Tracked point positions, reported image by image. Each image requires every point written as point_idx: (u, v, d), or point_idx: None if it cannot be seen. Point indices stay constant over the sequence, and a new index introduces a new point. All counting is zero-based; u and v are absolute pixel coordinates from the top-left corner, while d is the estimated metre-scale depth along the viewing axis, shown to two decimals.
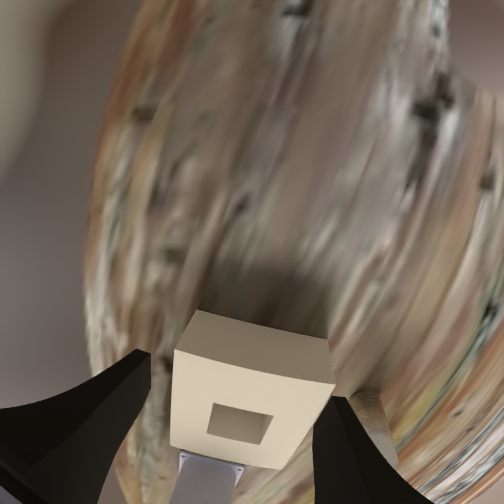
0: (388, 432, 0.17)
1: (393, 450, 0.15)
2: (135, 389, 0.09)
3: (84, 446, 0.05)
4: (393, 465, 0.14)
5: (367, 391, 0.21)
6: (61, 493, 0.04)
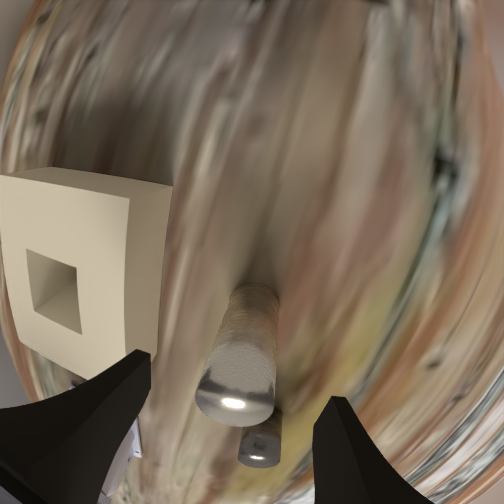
0: (264, 339, 0.12)
1: (261, 367, 0.10)
2: (135, 389, 0.09)
3: (84, 446, 0.05)
4: (261, 400, 0.09)
5: (252, 286, 0.16)
6: (61, 493, 0.04)
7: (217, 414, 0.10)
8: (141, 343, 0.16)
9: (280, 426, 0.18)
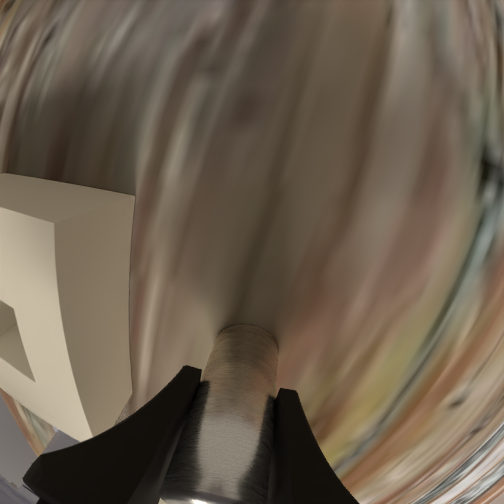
0: (254, 420, 0.08)
1: (248, 470, 0.06)
2: (189, 407, 0.09)
3: (152, 476, 0.05)
4: None
5: (241, 329, 0.12)
6: None
7: None
8: (107, 392, 0.11)
9: None
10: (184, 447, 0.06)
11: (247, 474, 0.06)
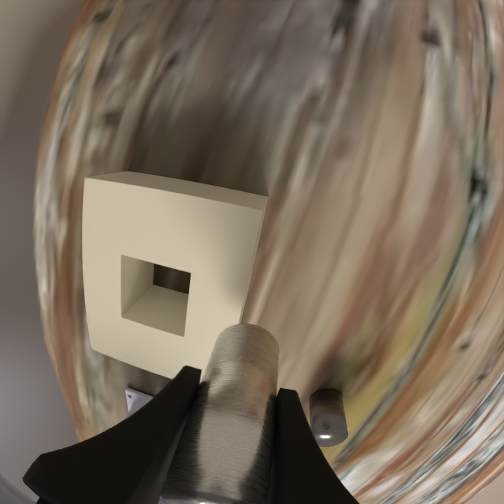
0: (255, 420, 0.08)
1: (249, 470, 0.06)
2: (189, 407, 0.09)
3: (152, 476, 0.05)
4: None
5: (242, 328, 0.12)
6: None
7: None
8: None
9: (343, 407, 0.21)
10: (185, 447, 0.06)
11: (248, 474, 0.06)
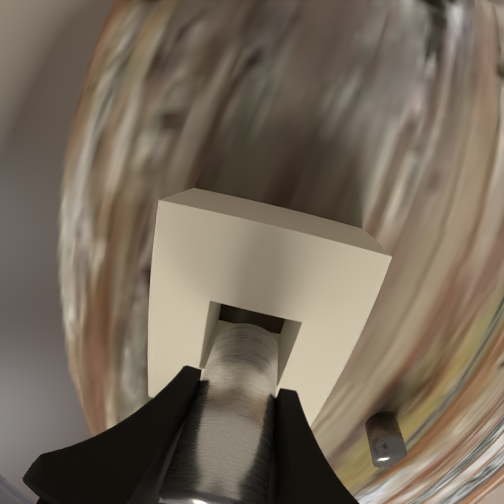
0: (255, 420, 0.07)
1: (248, 469, 0.06)
2: (189, 407, 0.09)
3: (152, 476, 0.05)
4: None
5: (242, 328, 0.12)
6: None
7: None
8: None
9: (399, 428, 0.19)
10: (184, 446, 0.06)
11: (247, 473, 0.06)
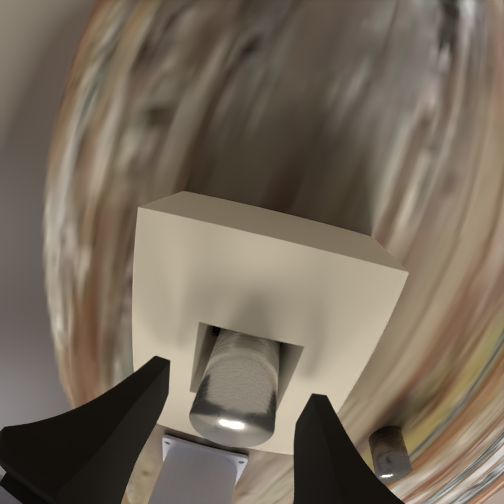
0: (264, 354, 0.11)
1: (261, 386, 0.09)
2: (156, 397, 0.09)
3: (109, 459, 0.05)
4: (261, 423, 0.08)
5: None
6: None
7: (213, 435, 0.09)
8: None
9: (404, 443, 0.17)
10: (211, 373, 0.10)
11: (260, 389, 0.09)
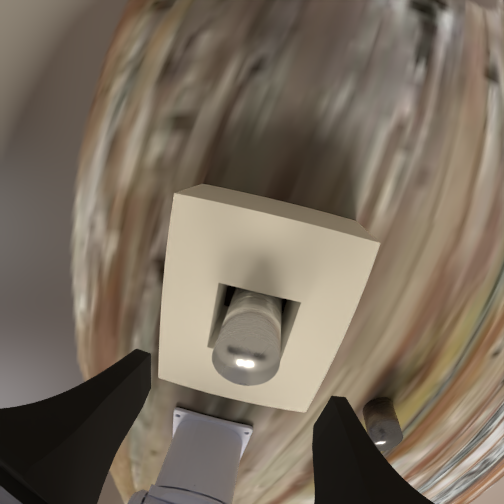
0: (270, 308, 0.14)
1: (268, 329, 0.12)
2: (135, 389, 0.09)
3: (84, 446, 0.05)
4: (269, 358, 0.12)
5: None
6: (61, 493, 0.04)
7: (230, 373, 0.12)
8: None
9: (395, 414, 0.20)
10: (229, 321, 0.13)
11: (268, 331, 0.12)
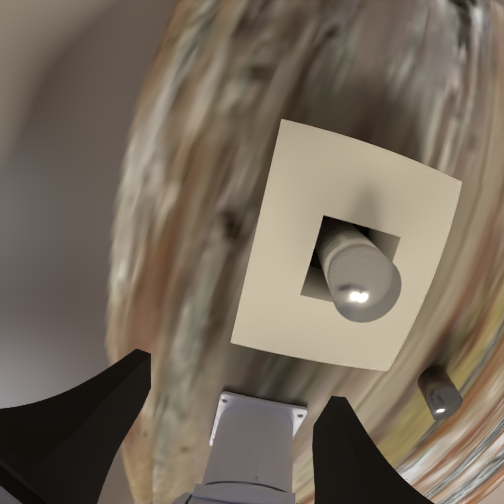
0: (373, 244, 0.13)
1: None
2: (135, 389, 0.09)
3: (84, 446, 0.05)
4: (392, 283, 0.11)
5: (337, 219, 0.18)
6: (61, 493, 0.04)
7: (349, 307, 0.11)
8: None
9: (450, 381, 0.19)
10: (342, 251, 0.12)
11: None
